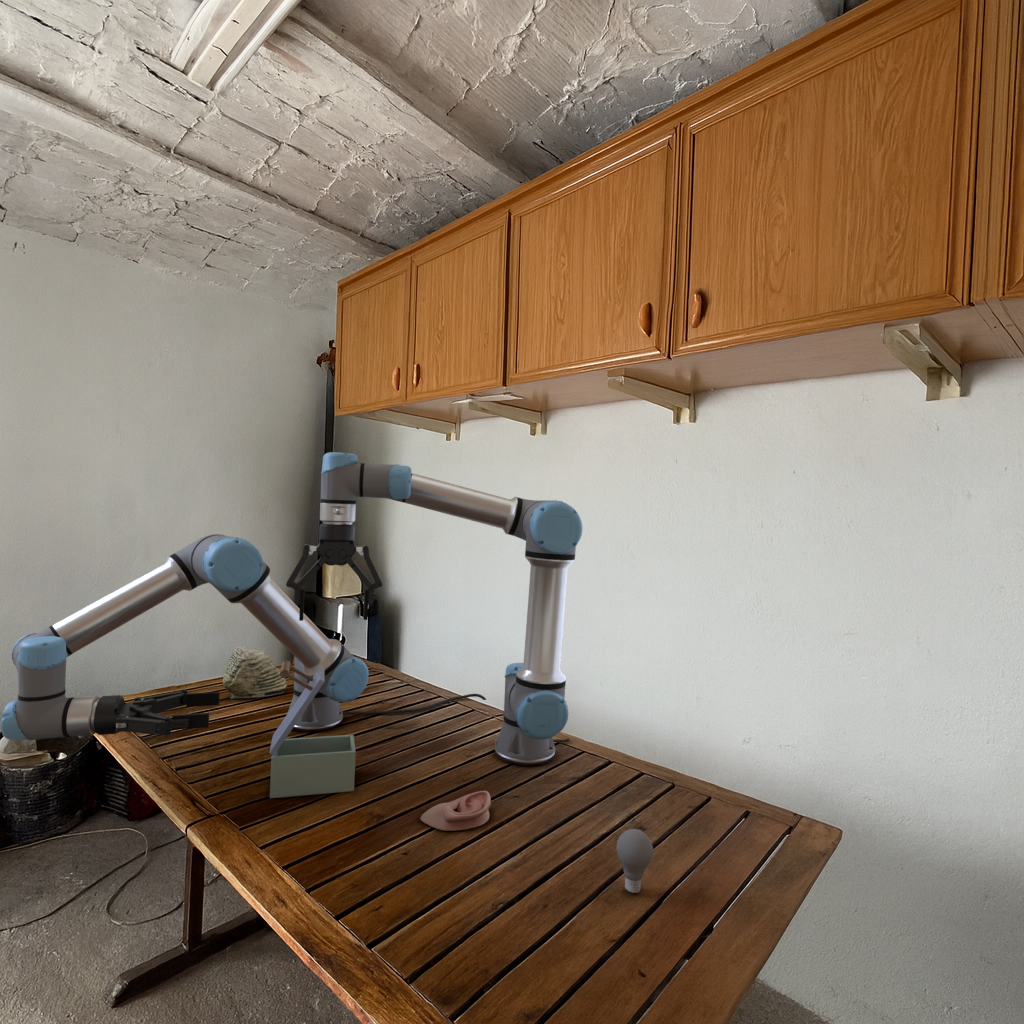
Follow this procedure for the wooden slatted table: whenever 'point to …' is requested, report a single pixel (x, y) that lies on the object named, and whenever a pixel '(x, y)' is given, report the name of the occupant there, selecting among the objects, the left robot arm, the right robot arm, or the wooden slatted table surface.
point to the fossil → (252, 674)
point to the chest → (313, 766)
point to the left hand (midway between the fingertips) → (214, 708)
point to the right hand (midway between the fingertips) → (333, 619)
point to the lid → (300, 704)
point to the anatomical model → (459, 812)
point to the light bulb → (634, 857)
